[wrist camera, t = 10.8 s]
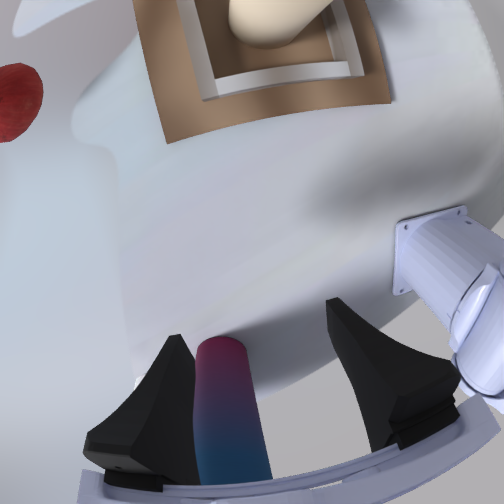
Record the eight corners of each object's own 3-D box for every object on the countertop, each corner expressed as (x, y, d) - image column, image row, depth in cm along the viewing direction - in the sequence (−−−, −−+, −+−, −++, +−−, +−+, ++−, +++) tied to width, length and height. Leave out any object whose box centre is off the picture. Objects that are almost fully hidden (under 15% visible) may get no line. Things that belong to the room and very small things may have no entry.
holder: (339, -43, 10) (353, -58, 7) (384, 103, 17) (406, 103, 14) (132, -16, 11) (120, -31, 8) (170, 142, 17) (160, 147, 14)
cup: (191, 324, 24) (179, 484, 11) (263, 334, 26) (289, 485, 12) (185, 369, 27) (178, 499, 14) (246, 375, 28) (261, 502, 15)
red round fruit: (43, 146, 16) (-25, 170, 8) (5, 121, 14) (-60, 138, 6) (73, 79, 14) (5, 71, 7) (31, 59, 12) (-34, 53, 5)
